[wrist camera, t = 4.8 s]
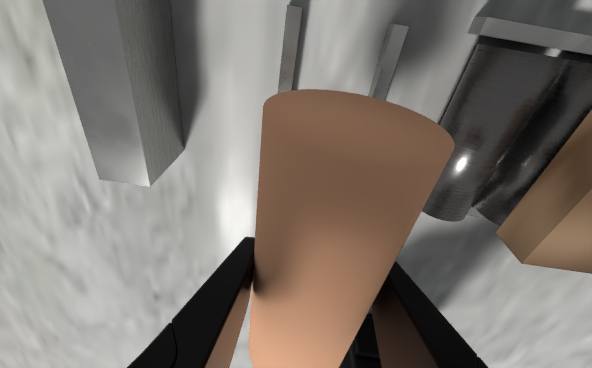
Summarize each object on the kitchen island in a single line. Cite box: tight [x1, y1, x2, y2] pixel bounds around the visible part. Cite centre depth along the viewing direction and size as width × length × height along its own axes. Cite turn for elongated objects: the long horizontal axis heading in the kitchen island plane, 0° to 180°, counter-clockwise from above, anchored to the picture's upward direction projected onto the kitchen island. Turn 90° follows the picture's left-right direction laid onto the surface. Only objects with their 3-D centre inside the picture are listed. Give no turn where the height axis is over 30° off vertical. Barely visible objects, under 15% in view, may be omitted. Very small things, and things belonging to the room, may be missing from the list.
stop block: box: [43, 0, 184, 187], centre depth 15 cm, size 10×3×5 cm, turn 172°
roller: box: [249, 89, 454, 368], centre depth 8 cm, size 10×4×4 cm, turn 172°
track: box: [278, 5, 592, 226], centre depth 16 cm, size 12×29×4 cm, turn 82°
